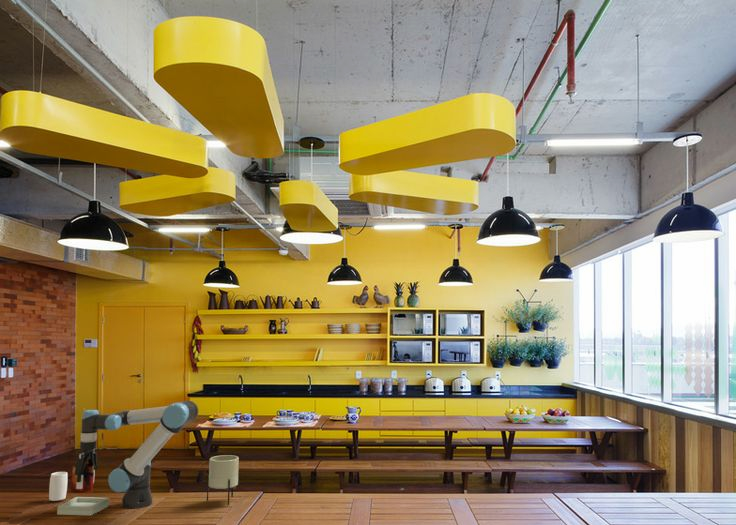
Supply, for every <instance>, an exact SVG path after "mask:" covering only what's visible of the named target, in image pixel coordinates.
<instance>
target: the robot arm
mask: <svg viewBox="0 0 736 525" xmlns="http://www.w3.org/2000/svg"><path fill="white" fill-rule="evenodd" d="M198 416H199V407H198V405H197V403H195V402H194V401H192V400H183V401H180V402H173V403H171V404H169V405H166V406H158V407H156V406H155V407H149V408H141V409H131V410H122V411H118V412H114V413H110V414H100V413H99V410H98V409H87V410H84V411H83V412H82V417H81V428H80V429H81V431H80V442H79V449H80V450H81V453H78V454H77V460H76V464H75V465H76V469H75V473H74V475H77V485H76V489H82V485H83V475H82V474H83V471H84V468H85V465H86V464H89V466H91V465H92V464H93V465H94V470H93V473H94V477H93V484H94V483H95V476H96V475H95V473H96V472H95V471H98V467H99V463H98V454H97V453H98V449H96V448H97V439H98V430H101V431H102V430H105V431H116V430H118V429H119V428H120V427H123V426H130V425H131V426H132V425H141V424H151V423H160V424H158V426H157V427H156V428H155V429H154V430H153V431H152V432H151V434H149V436H148V437H147V438H146V439H145V440H144V441H143V442H142V444H141V445H140V446H139V448H138V449H137V450H136V451H135V452H134V454H132V456H131V457H128V458H125V459H124V460H123V462H122V463H121V464H120V465H119V466H118V467H117V468H115V469H113V470H112V471H111V472H110V473H109V475H108V477H107V478H108V479H107V480H108V485H109V487H110V489H111V490H112V491H113V492H115V493H123V492H124V494H123V496H122V499H121V502H120V503H121V507H122V508H125V509H139V508H145V507H148V506H150V505H152V503H153V495H152V492H151V489H150V488H151V486H150V485H151V473H152V472H151V470H152V469H151V468H152V465H151V464H152V463H151V461H152V460H153V459H154V457H155V456H157V454H158V453H159V452H160V451H161V449H162V448H163V447H164V446H165V444H167V443H168V441H169V440H170V439H171V437H173V435H177V434H179V433H180V432H181V430H183V428H184V427H185V426H186V425H187V424H191V423H192V422H194V421H195V420H196V419H197V418H198Z"/></svg>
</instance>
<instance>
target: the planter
mask: <svg viewBox="0 0 736 525" xmlns="http://www.w3.org/2000/svg"><path fill="white" fill-rule="evenodd" d="M239 459H240V458H239V456H237V455H232V454H229V455H228V454H225V455H223V454H222V455H215V456H211V457H210V458H209V463H208V464H209V467H208V468H209V469H208V476H207V484H206V487H207V488H206V502H207V501H208V502H209V489H217V490H218V489H219V490H223V489H224V490H227V506H228V505H229V506H230V498H231V497H233V498H234V487H236V486H238V485H239V464H240V463H239V462H240V461H239ZM230 491H231V496H230Z"/></svg>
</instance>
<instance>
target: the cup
mask: <svg viewBox="0 0 736 525" xmlns="http://www.w3.org/2000/svg"><path fill="white" fill-rule="evenodd" d="M68 477H69V476H68V471H67V472H66V471H56V472H52V473H51V474H50V478H49V489H48V490H49V491H48V492H49V493H48V500H49V501H53V502H55V501H57V502H58V501H63V500H64V499H66V496H67V492H68Z"/></svg>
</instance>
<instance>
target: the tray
mask: <svg viewBox="0 0 736 525" xmlns="http://www.w3.org/2000/svg"><path fill="white" fill-rule="evenodd" d="M108 507H110V497H93V496H92V497H91V496H90V497H89V496H76V497H75V496H74V497H73V498H72V499H69V500H67V501H65V502H63V503H61V504H59V505H57V511H56V515H59V516H61V515H62V516H91V515H92V516H94V515H95V513H96V514H97V512H98V513H100V512H101V511H104V509H106V508H108ZM93 514H94V515H93Z"/></svg>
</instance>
